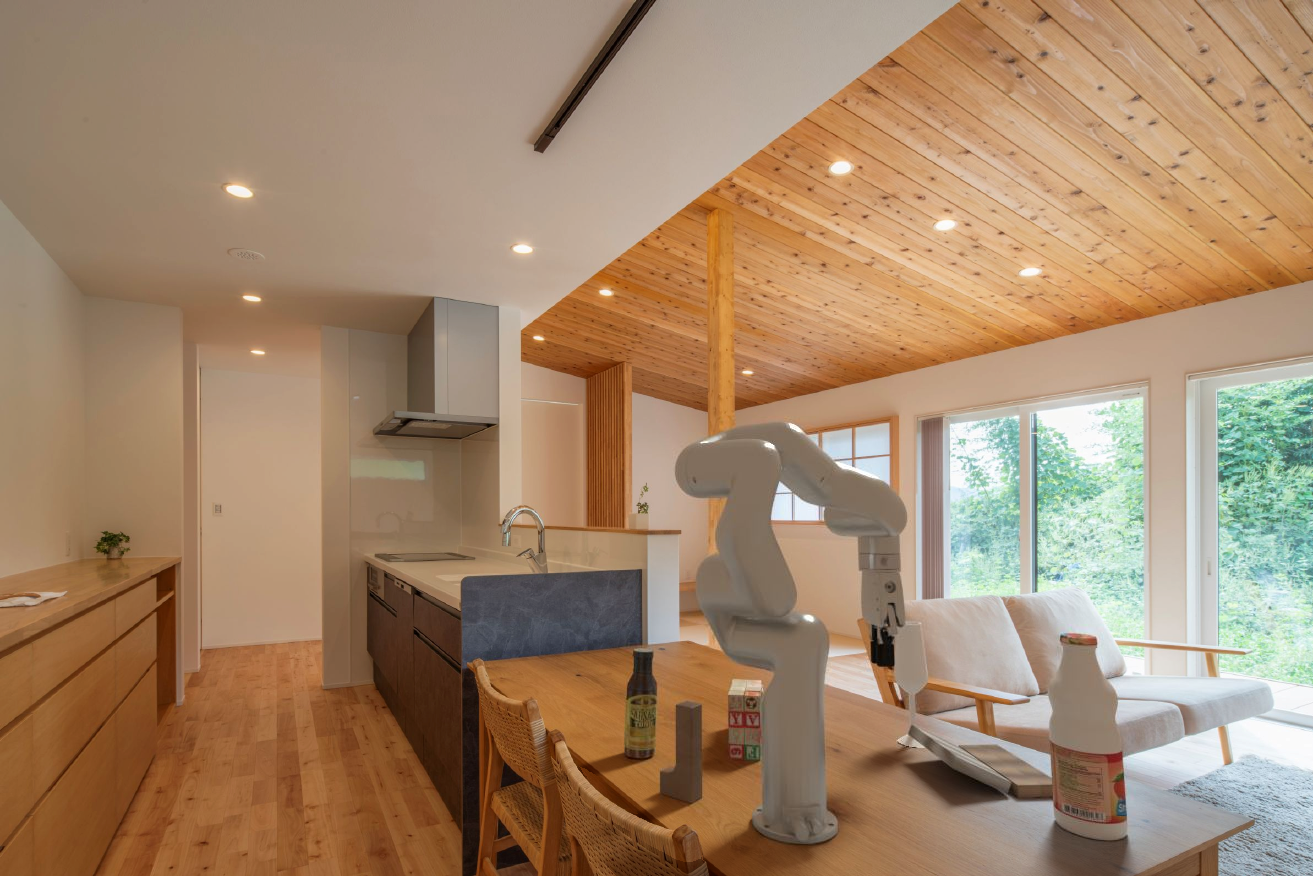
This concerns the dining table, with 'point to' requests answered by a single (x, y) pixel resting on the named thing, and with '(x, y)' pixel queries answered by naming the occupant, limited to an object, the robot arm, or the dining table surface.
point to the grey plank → (959, 759)
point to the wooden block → (685, 756)
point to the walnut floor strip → (1013, 771)
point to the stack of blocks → (745, 719)
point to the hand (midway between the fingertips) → (882, 664)
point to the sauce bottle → (641, 707)
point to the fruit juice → (1086, 745)
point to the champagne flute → (910, 669)
